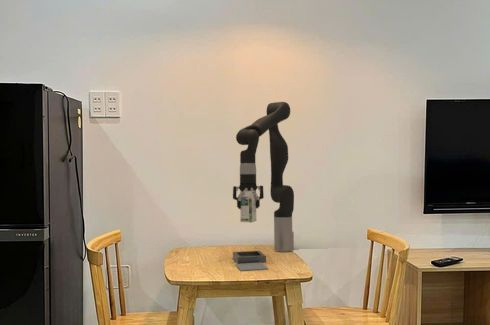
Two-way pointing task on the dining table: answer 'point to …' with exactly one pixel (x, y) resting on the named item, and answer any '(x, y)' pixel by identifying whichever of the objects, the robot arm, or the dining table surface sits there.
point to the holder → (249, 257)
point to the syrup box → (248, 207)
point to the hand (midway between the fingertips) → (248, 208)
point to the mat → (251, 266)
